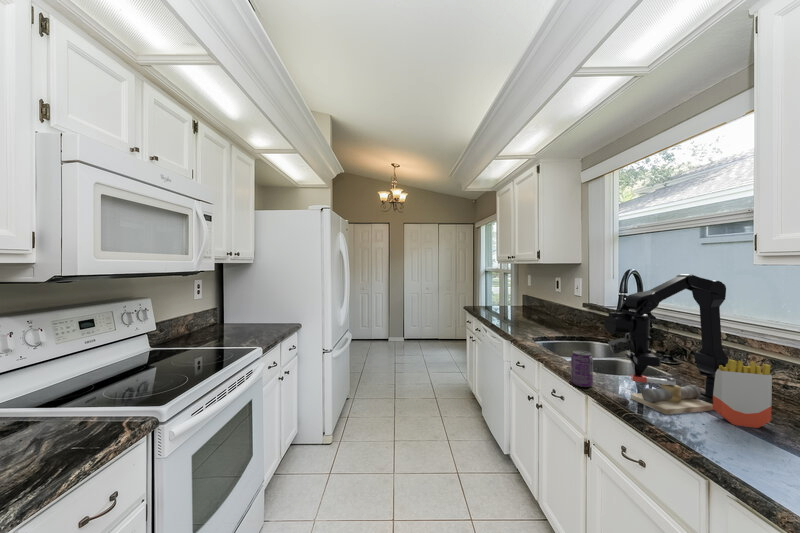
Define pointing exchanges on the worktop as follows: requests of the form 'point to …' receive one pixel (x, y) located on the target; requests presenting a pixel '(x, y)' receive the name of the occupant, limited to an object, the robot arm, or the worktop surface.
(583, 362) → the beverage can
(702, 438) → the worktop surface
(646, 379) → the valve lever
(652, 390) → the valve board
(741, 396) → the french fries container
